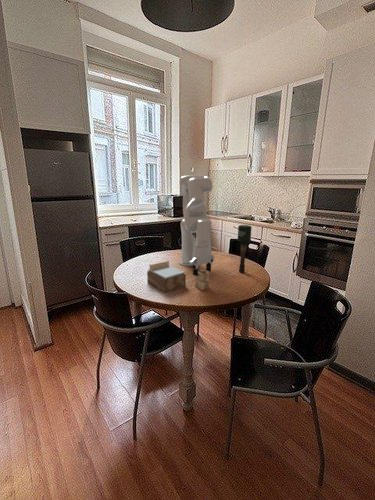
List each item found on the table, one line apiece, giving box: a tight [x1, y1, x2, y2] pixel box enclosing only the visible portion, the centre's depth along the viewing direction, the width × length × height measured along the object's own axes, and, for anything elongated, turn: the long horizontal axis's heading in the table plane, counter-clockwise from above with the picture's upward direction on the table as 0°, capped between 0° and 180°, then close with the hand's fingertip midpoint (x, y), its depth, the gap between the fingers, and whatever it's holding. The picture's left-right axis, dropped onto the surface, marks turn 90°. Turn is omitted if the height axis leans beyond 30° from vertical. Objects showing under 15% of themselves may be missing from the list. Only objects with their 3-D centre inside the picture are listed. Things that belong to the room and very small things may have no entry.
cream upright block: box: [195, 268, 210, 291], centre depth 137 cm, size 5×5×10 cm
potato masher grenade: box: [236, 224, 253, 274], centre depth 157 cm, size 8×9×30 cm
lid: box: [147, 259, 185, 279], centre depth 139 cm, size 13×16×4 cm
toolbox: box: [146, 270, 187, 294], centre depth 140 cm, size 14×17×7 cm
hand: (202, 273), depth 137 cm, fingers open, 9 cm apart
